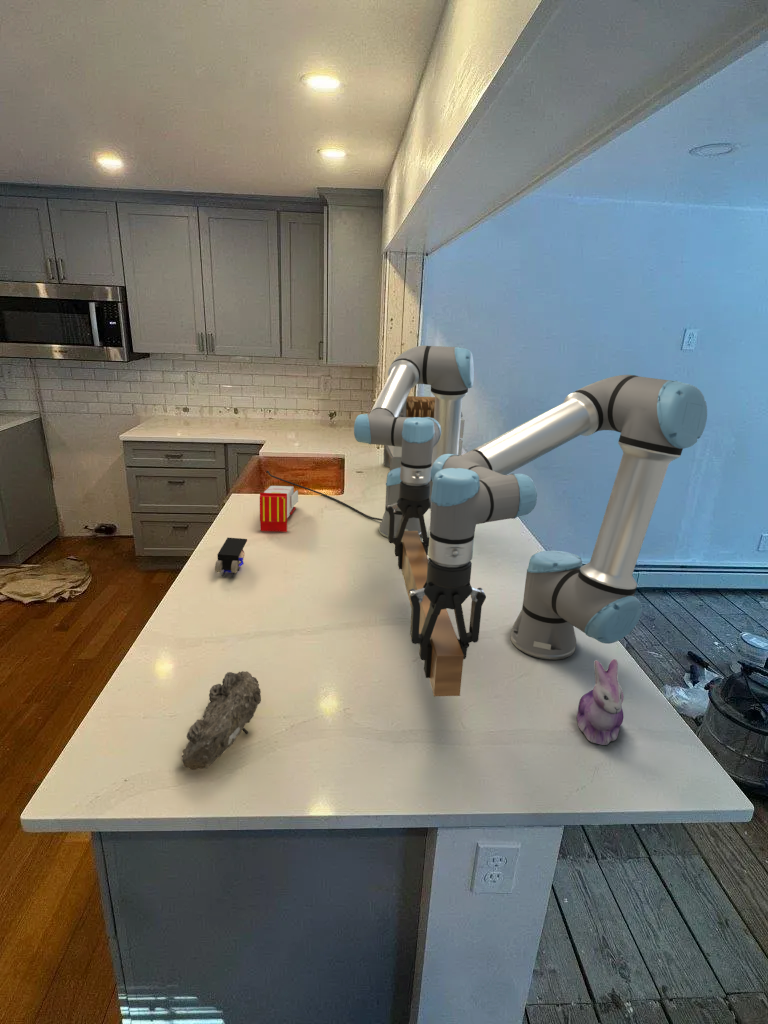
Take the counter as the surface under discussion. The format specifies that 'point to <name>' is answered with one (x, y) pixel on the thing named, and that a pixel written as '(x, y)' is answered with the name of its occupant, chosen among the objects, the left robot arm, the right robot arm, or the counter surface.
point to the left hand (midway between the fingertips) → (410, 566)
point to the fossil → (222, 719)
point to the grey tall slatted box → (409, 410)
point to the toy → (277, 507)
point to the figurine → (602, 706)
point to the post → (443, 636)
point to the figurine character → (230, 556)
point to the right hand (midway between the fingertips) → (441, 672)
